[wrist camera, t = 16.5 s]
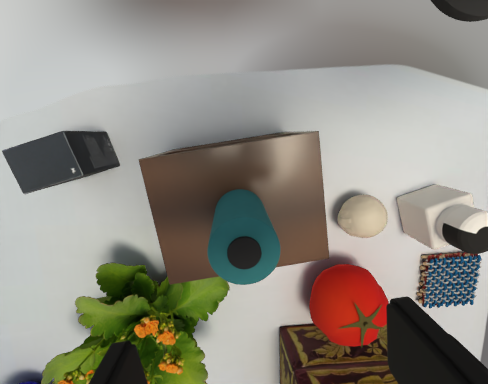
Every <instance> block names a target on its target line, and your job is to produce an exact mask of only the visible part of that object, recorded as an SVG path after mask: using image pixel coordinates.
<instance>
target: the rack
mask: <svg viewBox="0 0 488 384" xmlns="http://www.w3.org/2000/svg"><path fill="white" fill-rule="evenodd" d="M139 163H140V167H141V171H142V175H143V179H144V183H145V187H146V191H147V195H148V199H149V203H150V207H151V211H152V216H153V220H154V224H155V228H156V232H157V236H158V240H159V244H160V248H161V252H162V256H163V260H164V264H165V268H166V272H167V276H168V280H169V284H170V285H171V284H177V283H183V282H189V281H195V280H201V279H207V278H213V277H219V275H217V274H216V272H215V271H214V270H213V268H212V267H211V265H210V263H209V259H208V254H207V250H208V243H209V238H210V233H211V228H212V223H213V218H214V213H215V209H216V205H217V203H218V201H219V200H220V198H221V197H222V196H223V195H225V194H226V193H228V192H230V191H232V190H237V189H243V190H248V191H251V192H253V193H254V194H256V195H257V196H258V197H259V198H260V200H261V201H262V203H263V205H264V207H265V210H266V212H267V214H268V216H269V219H270V221H271V223H272V225H273V227H274V230H275V232H276V234H277V236H278V239H279V242H280V249H281V251H280V258H279V261H278V263H277V265H276V267H280V266H286V265H292V264H298V263H304V262H310V261H317V260H323V259H329V250H328V238H327V226H326V214H325V202H324V190H323V178H322V165H321V153H320V141H319V131H306V132H281V133H275V134H269V135H262V136H256V137H250V138H243V139H237V140H231V141H224V142H218V143H212V144H205V145H199V146H192V147H186V148H180V149H174V150H170V151H167V152H163V153H160V154H156V155H153V156H149V157H146V158H143V159H139Z"/></svg>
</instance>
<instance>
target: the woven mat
mask: <svg viewBox="0 0 488 384" xmlns="http://www.w3.org/2000/svg"><path fill="white" fill-rule="evenodd" d="M473 255H474V257H473ZM460 256H461V257H460ZM448 257H449V258H448ZM421 258H422V259H426V261H425V262H423V265H425V266H420V269H421V270H426V271H425V272H422V276H423V277H421V280H422V281H424V282H420V283H419V284H420V285H421V286H423V287H422V289H420V292H418V293H417V296H423V298H420V299H419V300H418V302H419V303H422V306H424V307H426V306H427V305H428V303H429V308H432V306H433V307H435V305H437V307H438V308H439V307H440V306H443V304H446V305H445V306H446V307H448V306H449V305H451V303H453V302H454V306H457V305H459V303H461V301H462V305H463V306H464V305H465V304H468V302H469V301H470V304H471V305H473V300H474V297H476V295H474V294H475V292H474V291H475V290H476V289H477V288H476V287H475V286H477V284H476V283H477V282H478V281H477V278H478V276H479V275H480V274H478V272H479V270H478V269H479V268H481V266H479V265H480V263H481V262H480V261H482V259H481V257H480V255H478V254H469V253H466V252H464V253H459V252H457V253H448V254H442V253H440V254H438V255H423V256H421ZM477 258H478V259H477ZM467 261H468V262H467ZM463 262H464V263H463ZM477 270H478V271H477ZM473 273H474V274H473ZM424 276H425V277H424ZM450 294H451V295H450ZM470 294H471V295H470ZM433 301H434V302H433ZM425 302H426V303H425Z"/></svg>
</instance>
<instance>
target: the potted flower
mask: <svg viewBox="0 0 488 384" xmlns="http://www.w3.org/2000/svg"><path fill="white" fill-rule="evenodd" d="M97 272H98V273H97V274H96V278H97V279H98V280H97V284H98V285H101V287H100V290H101V291H103V293H106V292H107V294H106V295H107V296H106V297H102V298H97V299H95V298H91V297H85V296H82V297H79V298H77V299H76V301H75V305H76V307H77V308H78V309H77V311H76V313H84V314H83V315H81V316H80V317H79V319H78V322H79V323H80V324H82V326H85V325H86V326H85V328H86V329H87V328H90V327H92V326H93V325H94V326H93V327H92V329H91V332H90V334H91V335H90V336H89V337H88V338H87V339H85V341H84V343H83V344H81V345H80V346H79V347H77V348H75V349H74V350H73V351H71V352H67V353H63V354H60V355H57V356H56V357H55V358H53V359H52V360H51V361H50V362H49V363H47V365H46V368H45V369H44V371H43V373H42V376H43V379H42V381H41V384H48V383H50V382H51V381H52V378H54V382H52V383H53V384H54V383H55V384H89V382H90V380H91V378H92V377H93V375H94V373H95V371H96V370H97V368H98V366H99V364H100V363H101V361H102V359H103V357H104V356H105V354H106V352H107V350H108V349H109V347H110V346H111V344H112V343H116V342H122V341H130V342H131V343H132V344H135V345H136V347H137V351H138V354H139V357H140V360H141V364H142V367H143V370H144V373H145V377H146V380H147V383H148V384H207V383H206V382H205V380H206V379H207V378H208V373H207V371H206V369H205V364H203V363H201V361H202V360H203V359H204V358H205V354H204V352H203V351H202V350H200V347H197V342H196V340H195V339H194V338H193V335H192V333H194V332H195V329H194V326H196V325H197V322H198V321H199V318H200V319H201V320H204V321H207V320H208V314H207V312H208V313H209V314H211V315H212V314H213V312H215V311H216V310H217V308H218V305H219V303H220V302H221V301H223V300H224V297H226V296H227V292H228V290H229V285H228V283H227V281H226V280H224V279H222V278H221V277H220V276H219V277H213V278H207V279H201V280H195V281H189V282H183V283H177V284H171V285H170V284H169V280H168V277H166V279H165V280H164V281H163V282H161V285H159V283H158V282H157V281H152V280H151V279H150V277H149V276H146V274H147V271H146V266H145V265H140V266H139V265H136V266H131V265H129V266H126V265H124V264H117V263H110V264H108V263H107V264H104V265H101V266H100V267H99V268H98V269H97Z"/></svg>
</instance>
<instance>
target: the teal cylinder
mask: <svg viewBox="0 0 488 384" xmlns="http://www.w3.org/2000/svg"><path fill="white" fill-rule="evenodd" d="M280 251H281V249H280V242H279V239H278V236H277V234H276V232H275V230H274V227H273V225H272V223H271V221H270V219H269V216H268V214H267V212H266V210H265V207H264V205H263V203H262V201H261V200H260V198H259V197H258V196H257V195H256V194H254V193H253V192H251V191H248V190H243V189H237V190H232V191H230V192H228V193H226V194H225V195H223V196H222V197H221V198H220V200H219V201H218V203H217V205H216V209H215V213H214V218H213V223H212V228H211V233H210V238H209V243H208V250H207V254H208V259H209V263H210V265H211V267H212V268H213V270H214V271H215V272H216V274H217V275H219V276H220V277H221V278H222V279H224V280H226V281H228V282H231V283H234V284H240V285H246V284H252V283H256V282H259V281H261V280H263V279H264V278H266V277H267V276H268V275H269V274H270V273H271V272H272V271H273V270H274V269H275V267H276V265H277V263H278V261H279V258H280Z"/></svg>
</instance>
